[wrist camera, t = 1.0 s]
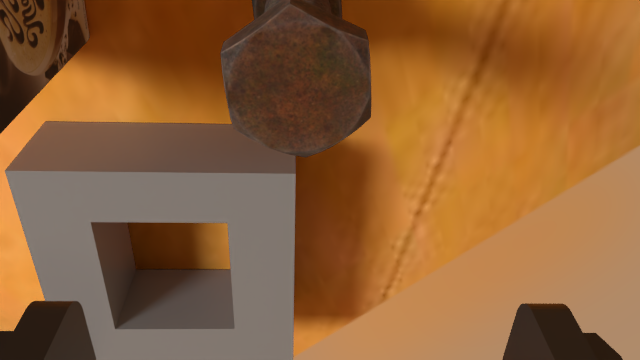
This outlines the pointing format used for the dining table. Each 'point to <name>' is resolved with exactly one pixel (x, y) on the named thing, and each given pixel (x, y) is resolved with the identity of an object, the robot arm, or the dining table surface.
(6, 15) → the coffee box
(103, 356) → the socket block
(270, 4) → the bolt
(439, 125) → the dining table surface
